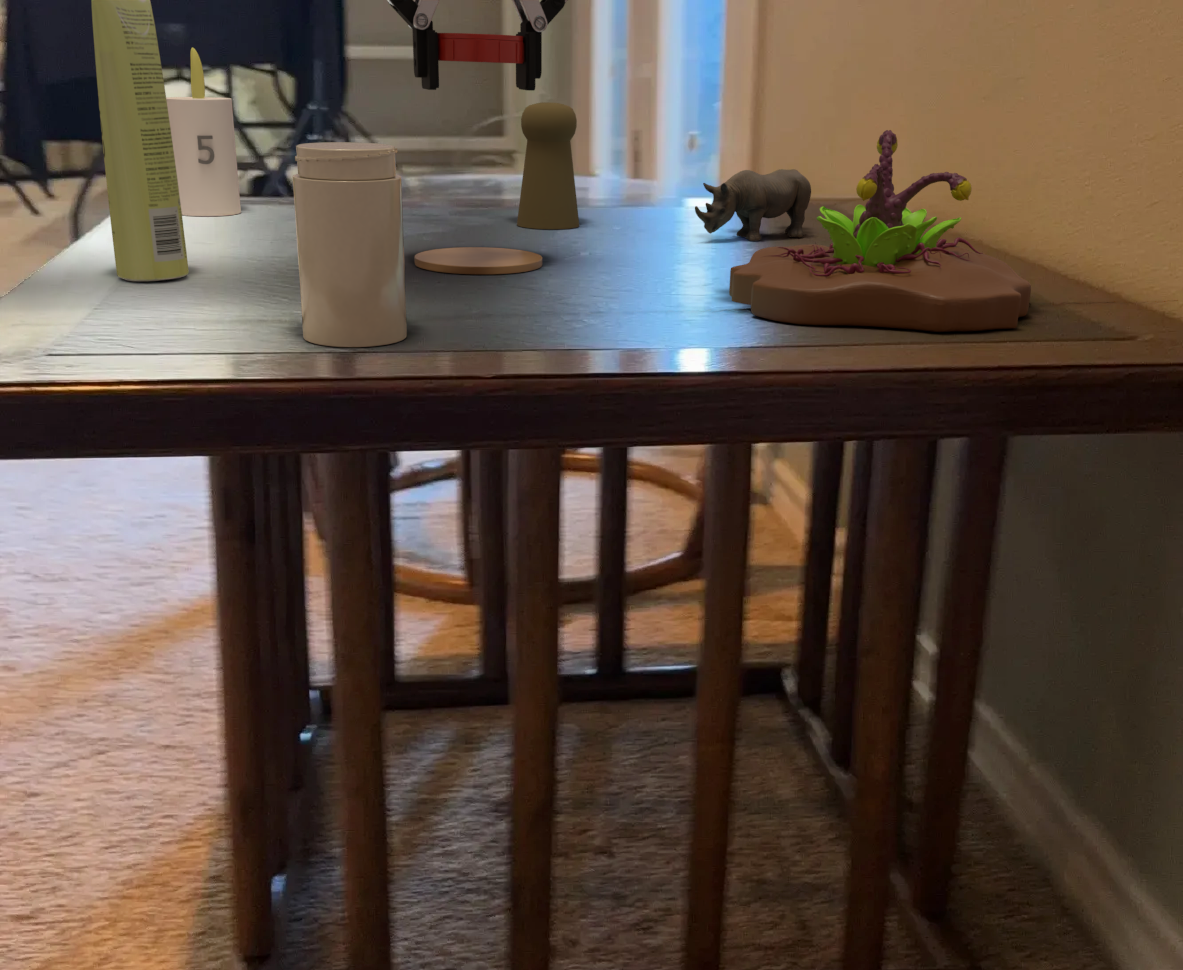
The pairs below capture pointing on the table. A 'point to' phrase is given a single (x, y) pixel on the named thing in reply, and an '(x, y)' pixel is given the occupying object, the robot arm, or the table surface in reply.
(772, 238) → the table surface
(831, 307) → the plant
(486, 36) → the lid
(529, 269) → the coaster
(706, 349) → the table surface
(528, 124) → the pepper shaker
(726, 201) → the rhino figurine
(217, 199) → the candle
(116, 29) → the tube
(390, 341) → the jar
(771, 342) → the table surface
